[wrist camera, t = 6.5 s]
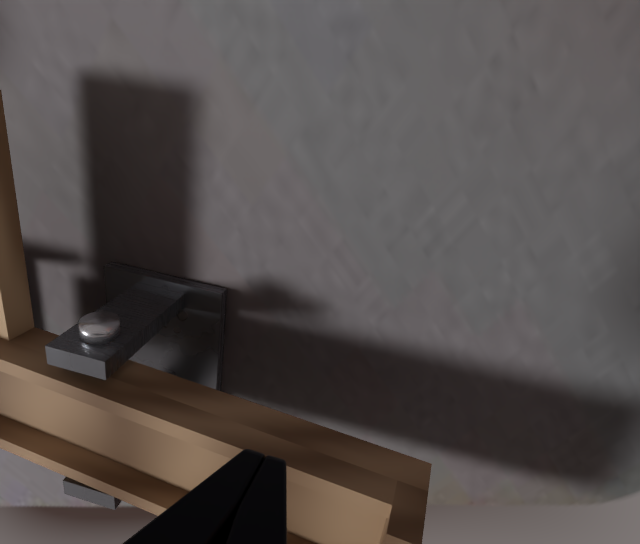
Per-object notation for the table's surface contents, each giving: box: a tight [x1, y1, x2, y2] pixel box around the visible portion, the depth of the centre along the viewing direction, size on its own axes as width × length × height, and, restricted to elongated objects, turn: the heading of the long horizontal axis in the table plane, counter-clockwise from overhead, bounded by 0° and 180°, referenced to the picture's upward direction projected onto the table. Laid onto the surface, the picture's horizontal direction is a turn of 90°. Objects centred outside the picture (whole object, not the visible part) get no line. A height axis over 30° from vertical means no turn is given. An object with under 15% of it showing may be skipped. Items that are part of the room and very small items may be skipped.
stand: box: [45, 262, 227, 510], centre depth 21 cm, size 6×9×6 cm
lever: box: [0, 90, 431, 544], centre depth 16 cm, size 22×14×3 cm, turn 82°
